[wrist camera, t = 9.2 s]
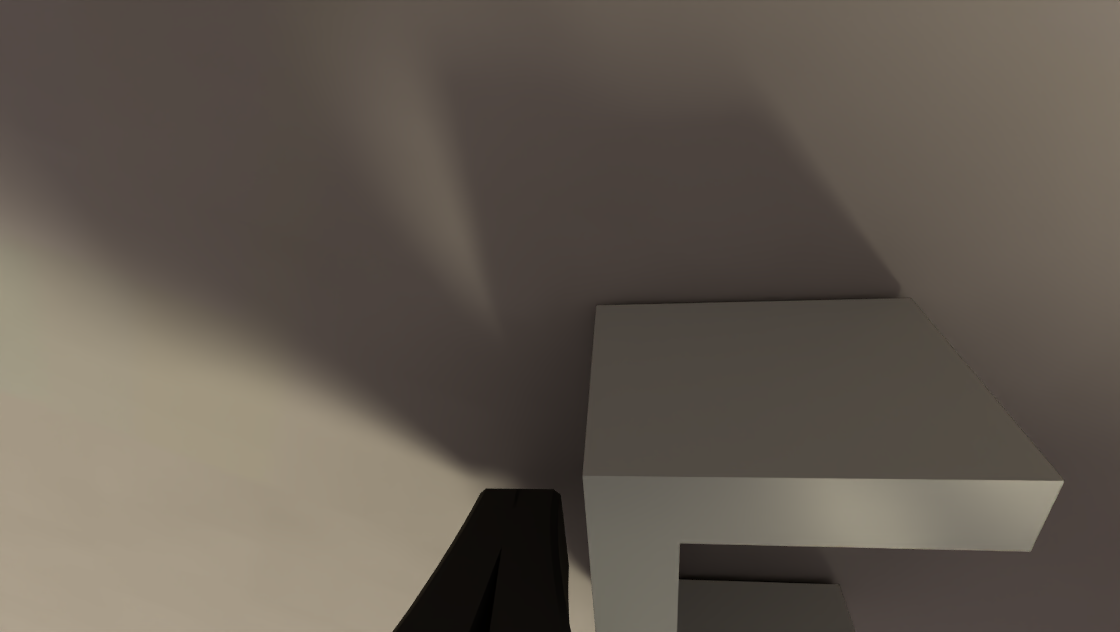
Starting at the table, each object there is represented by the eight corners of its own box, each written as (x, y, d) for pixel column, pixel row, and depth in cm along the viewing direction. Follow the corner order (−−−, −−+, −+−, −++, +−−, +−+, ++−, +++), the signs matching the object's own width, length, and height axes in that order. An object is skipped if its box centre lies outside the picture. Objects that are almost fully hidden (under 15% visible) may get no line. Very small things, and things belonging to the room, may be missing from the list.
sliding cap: (831, 615, 12) (897, 825, 9) (613, 607, 13) (610, 802, 10) (910, 298, 9) (1064, 481, 6) (596, 305, 9) (582, 475, 6)
